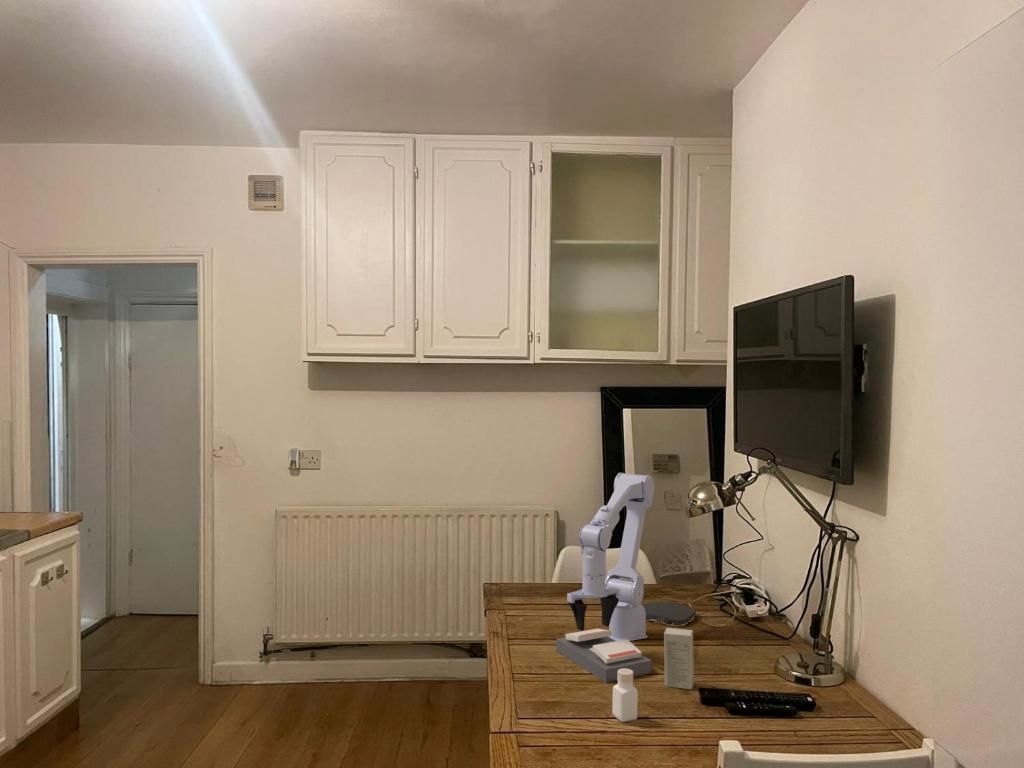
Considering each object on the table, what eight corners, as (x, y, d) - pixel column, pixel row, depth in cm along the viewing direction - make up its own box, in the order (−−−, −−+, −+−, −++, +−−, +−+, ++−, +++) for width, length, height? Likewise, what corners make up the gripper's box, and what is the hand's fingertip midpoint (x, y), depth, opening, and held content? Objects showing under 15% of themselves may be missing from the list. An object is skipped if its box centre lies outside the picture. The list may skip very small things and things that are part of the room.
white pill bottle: (621, 723, 146) (622, 676, 146) (611, 715, 150) (611, 669, 150) (638, 720, 148) (639, 673, 148) (627, 711, 151) (628, 666, 151)
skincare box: (693, 683, 167) (694, 629, 167) (692, 690, 162) (692, 636, 162) (665, 678, 169) (666, 626, 169) (663, 686, 165) (663, 632, 165)
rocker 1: (598, 633, 189) (597, 628, 189) (611, 635, 184) (611, 630, 184) (565, 639, 184) (565, 634, 185) (578, 641, 179) (577, 636, 179)
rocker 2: (626, 643, 178) (626, 639, 178) (640, 656, 173) (641, 652, 173) (592, 650, 174) (592, 645, 173) (606, 663, 168) (607, 659, 168)
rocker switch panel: (598, 642, 191) (598, 630, 191) (651, 672, 172) (651, 659, 172) (556, 650, 185) (556, 638, 185) (605, 682, 166) (606, 668, 166)
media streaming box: (699, 616, 216) (699, 606, 216) (682, 630, 203) (683, 619, 203) (652, 607, 224) (653, 597, 224) (634, 620, 211) (634, 610, 211)
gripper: (608, 566, 189) (607, 618, 189) (561, 572, 182) (560, 626, 182) (624, 573, 183) (624, 627, 183) (576, 579, 176) (575, 635, 176)
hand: (593, 627), depth 182 cm, fingers open, 7 cm apart
